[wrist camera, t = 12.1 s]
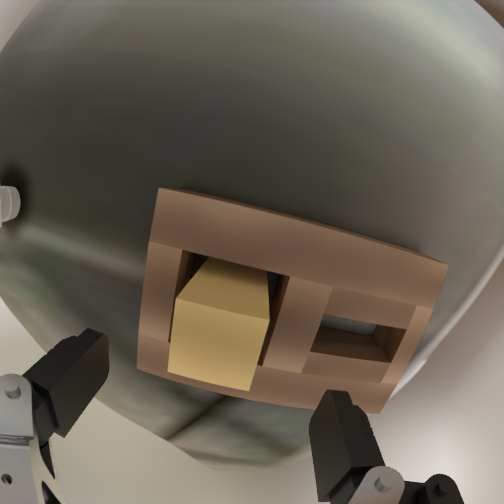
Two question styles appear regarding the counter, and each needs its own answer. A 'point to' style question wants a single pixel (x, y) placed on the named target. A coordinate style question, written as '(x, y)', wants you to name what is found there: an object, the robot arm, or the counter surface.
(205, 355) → the square peg
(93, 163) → the counter surface
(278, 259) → the socket block
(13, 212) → the pipe fitting
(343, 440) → the robot arm
